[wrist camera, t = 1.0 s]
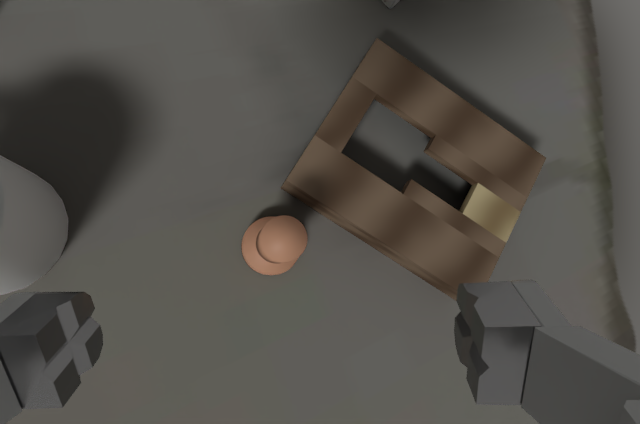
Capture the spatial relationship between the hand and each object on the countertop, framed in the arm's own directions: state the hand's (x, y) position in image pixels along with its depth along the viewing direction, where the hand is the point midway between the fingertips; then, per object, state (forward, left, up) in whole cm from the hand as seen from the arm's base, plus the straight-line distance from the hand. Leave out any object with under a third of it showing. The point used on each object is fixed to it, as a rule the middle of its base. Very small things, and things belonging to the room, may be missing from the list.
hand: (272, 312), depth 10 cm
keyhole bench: (+9, +17, -28) cm, 34 cm away
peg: (+1, +4, -29) cm, 29 cm away
